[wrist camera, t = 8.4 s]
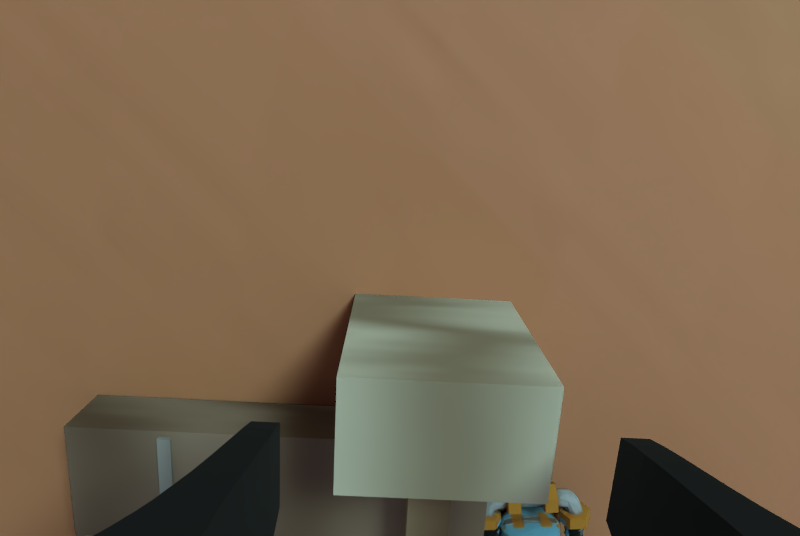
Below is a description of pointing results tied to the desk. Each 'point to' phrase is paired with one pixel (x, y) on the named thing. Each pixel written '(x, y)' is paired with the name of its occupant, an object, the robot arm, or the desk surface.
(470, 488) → the joiner mallet
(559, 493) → the flamethrower
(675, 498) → the robot arm
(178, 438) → the brown flat block
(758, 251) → the desk surface
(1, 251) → the desk surface
